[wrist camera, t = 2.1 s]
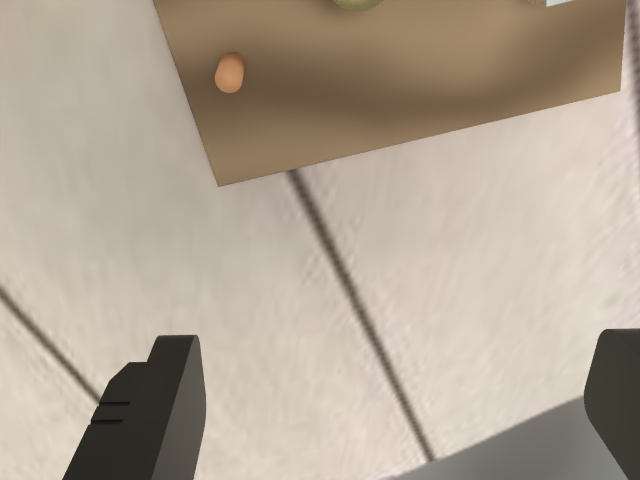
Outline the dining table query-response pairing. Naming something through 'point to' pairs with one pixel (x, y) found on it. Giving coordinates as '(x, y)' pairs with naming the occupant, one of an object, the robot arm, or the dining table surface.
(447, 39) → the board
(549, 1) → the square container with handle
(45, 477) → the dining table surface
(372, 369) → the dining table surface
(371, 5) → the small yellow jar
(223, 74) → the dowel
